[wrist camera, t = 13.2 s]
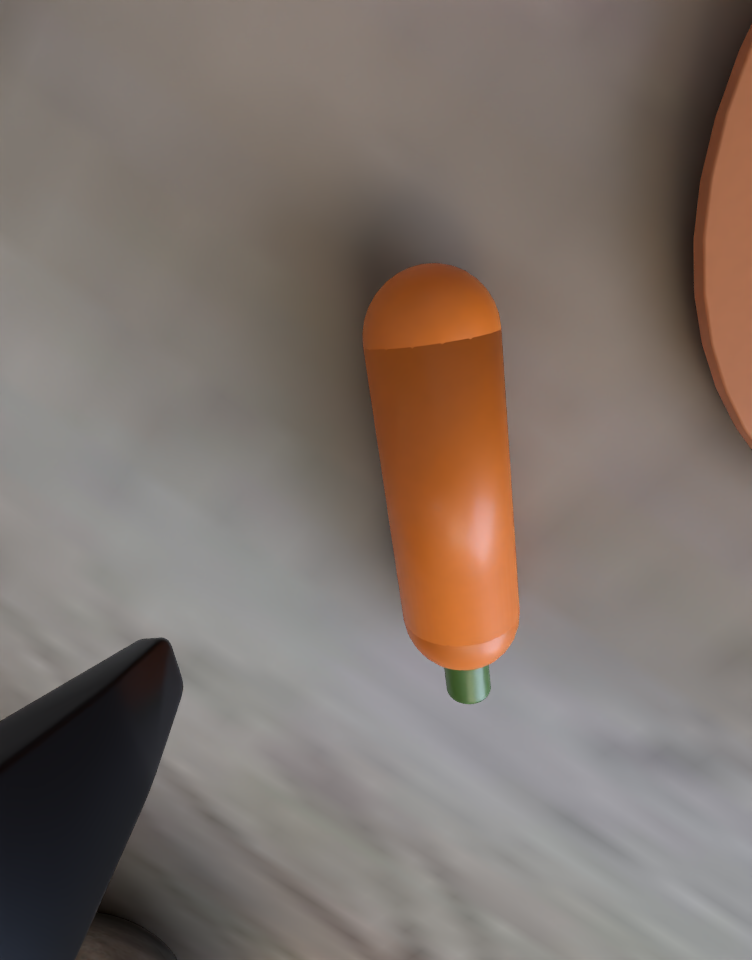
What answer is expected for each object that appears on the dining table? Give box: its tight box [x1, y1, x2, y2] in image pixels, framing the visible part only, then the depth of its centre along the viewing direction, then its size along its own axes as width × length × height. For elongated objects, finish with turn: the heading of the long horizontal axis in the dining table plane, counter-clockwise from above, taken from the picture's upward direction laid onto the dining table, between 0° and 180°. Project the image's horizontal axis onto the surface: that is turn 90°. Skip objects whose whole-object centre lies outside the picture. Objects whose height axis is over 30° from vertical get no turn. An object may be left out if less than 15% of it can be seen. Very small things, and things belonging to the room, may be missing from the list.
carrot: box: [362, 263, 519, 704], centre depth 13 cm, size 11×3×3 cm, turn 8°
